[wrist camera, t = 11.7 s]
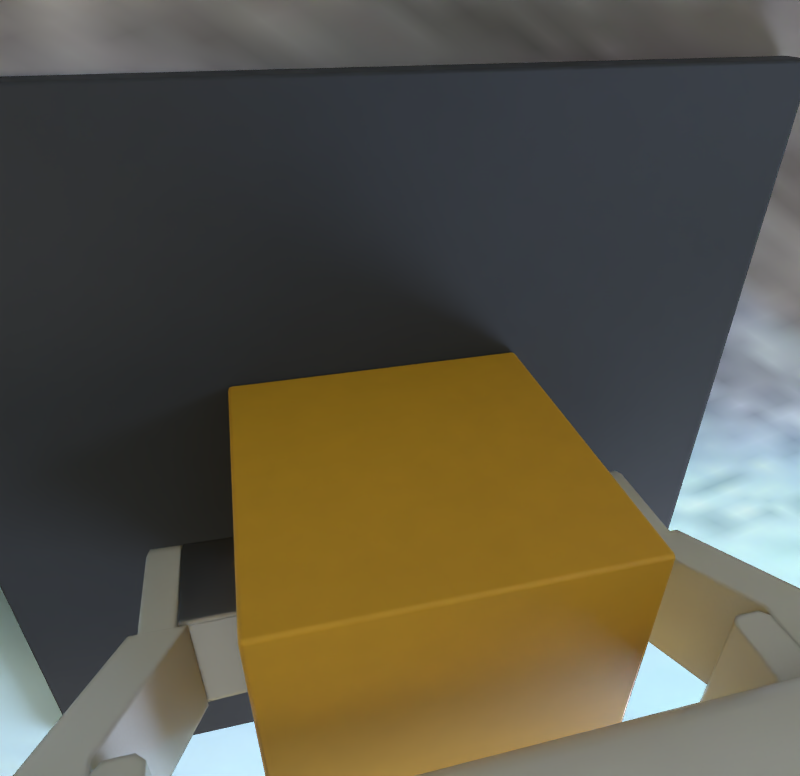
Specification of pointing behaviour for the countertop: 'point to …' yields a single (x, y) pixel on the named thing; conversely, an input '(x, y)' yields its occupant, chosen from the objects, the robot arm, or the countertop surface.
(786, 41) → the countertop surface
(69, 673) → the mat
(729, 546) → the countertop surface
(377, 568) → the top cube
